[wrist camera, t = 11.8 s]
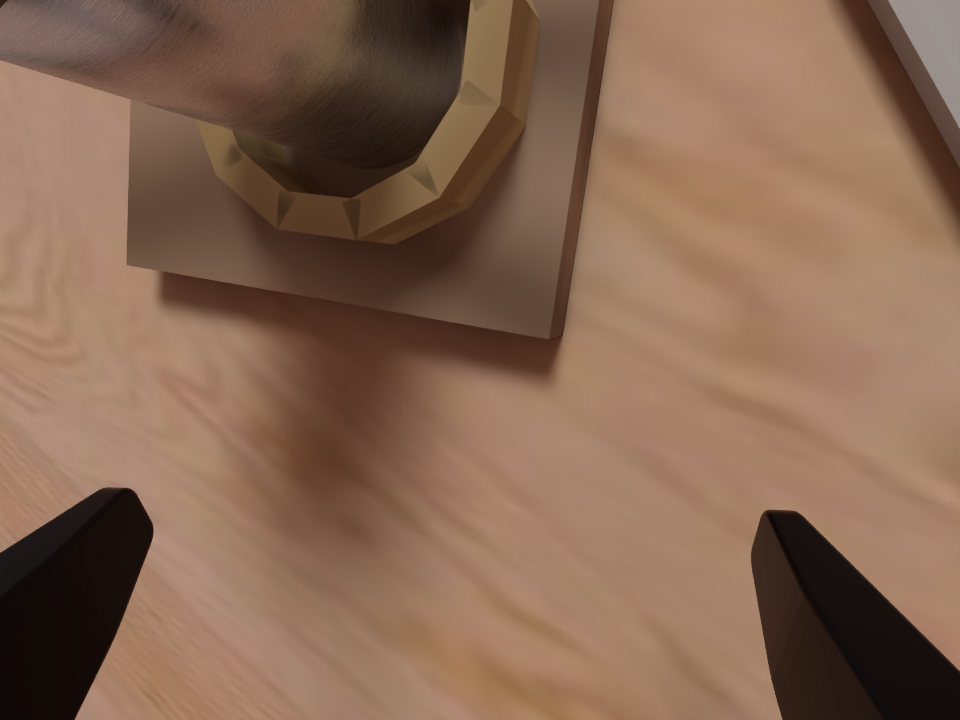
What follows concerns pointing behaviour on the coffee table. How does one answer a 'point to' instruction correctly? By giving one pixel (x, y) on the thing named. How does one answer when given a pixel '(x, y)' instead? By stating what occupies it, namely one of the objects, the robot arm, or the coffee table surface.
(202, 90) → the silver metal cylinder
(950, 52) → the adjustable wrench
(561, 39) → the ring seat
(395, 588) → the coffee table surface
